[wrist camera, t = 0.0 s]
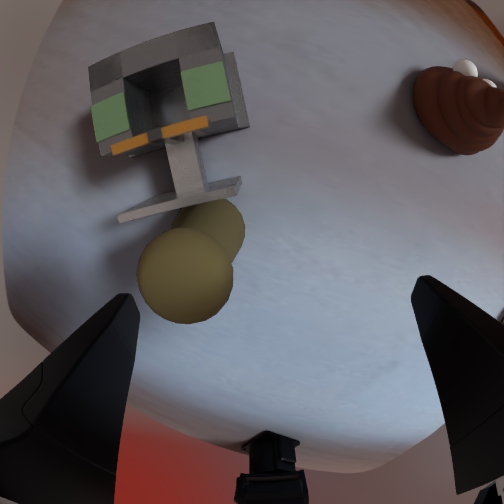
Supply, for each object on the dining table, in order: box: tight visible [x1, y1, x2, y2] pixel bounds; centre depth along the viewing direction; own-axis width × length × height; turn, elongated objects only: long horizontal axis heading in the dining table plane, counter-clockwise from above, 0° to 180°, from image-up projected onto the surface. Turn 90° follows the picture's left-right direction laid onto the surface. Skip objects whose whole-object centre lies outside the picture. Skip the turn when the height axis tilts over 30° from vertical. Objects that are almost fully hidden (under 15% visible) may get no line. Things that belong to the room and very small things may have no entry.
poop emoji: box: [413, 59, 504, 155], centre depth 15 cm, size 10×8×9 cm
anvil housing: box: [88, 22, 250, 158], centre depth 16 cm, size 6×10×7 cm, turn 101°
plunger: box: [111, 116, 242, 223], centre depth 17 cm, size 4×7×8 cm, turn 101°
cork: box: [137, 198, 245, 324], centre depth 18 cm, size 6×6×11 cm
